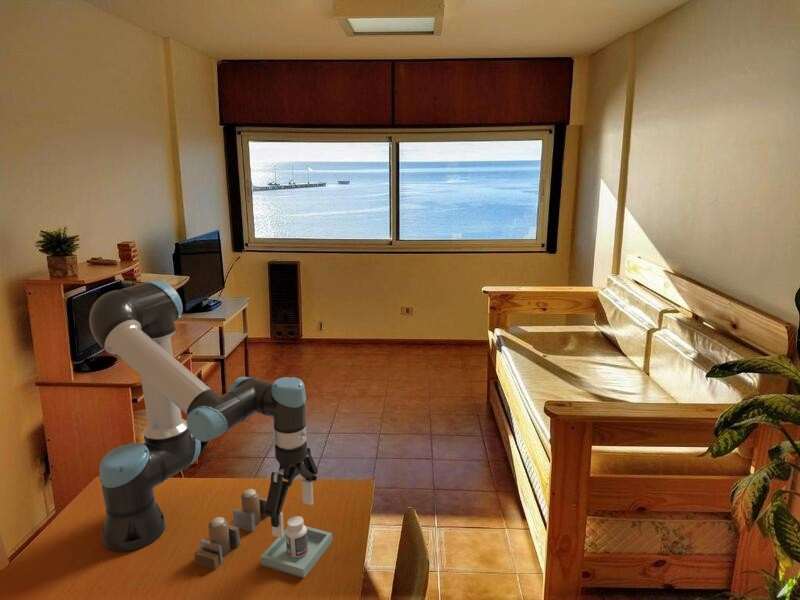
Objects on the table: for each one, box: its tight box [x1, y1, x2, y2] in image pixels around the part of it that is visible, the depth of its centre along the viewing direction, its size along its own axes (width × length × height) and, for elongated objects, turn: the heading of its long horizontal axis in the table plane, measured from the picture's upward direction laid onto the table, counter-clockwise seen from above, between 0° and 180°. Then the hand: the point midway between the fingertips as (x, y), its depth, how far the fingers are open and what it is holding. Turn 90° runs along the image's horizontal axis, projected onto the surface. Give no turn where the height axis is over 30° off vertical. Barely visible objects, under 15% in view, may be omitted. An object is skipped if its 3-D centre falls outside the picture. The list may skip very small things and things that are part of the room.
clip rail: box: [193, 496, 269, 571], centre depth 150 cm, size 6×25×5 cm, turn 158°
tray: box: [260, 525, 334, 579], centre depth 144 cm, size 12×14×2 cm
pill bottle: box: [285, 515, 308, 558], centre depth 143 cm, size 5×5×9 cm
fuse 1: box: [208, 516, 231, 558], centre depth 144 cm, size 5×5×9 cm
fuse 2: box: [240, 488, 262, 526], centre depth 156 cm, size 5×5×9 cm
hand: (293, 518), depth 142 cm, fingers open, 13 cm apart
